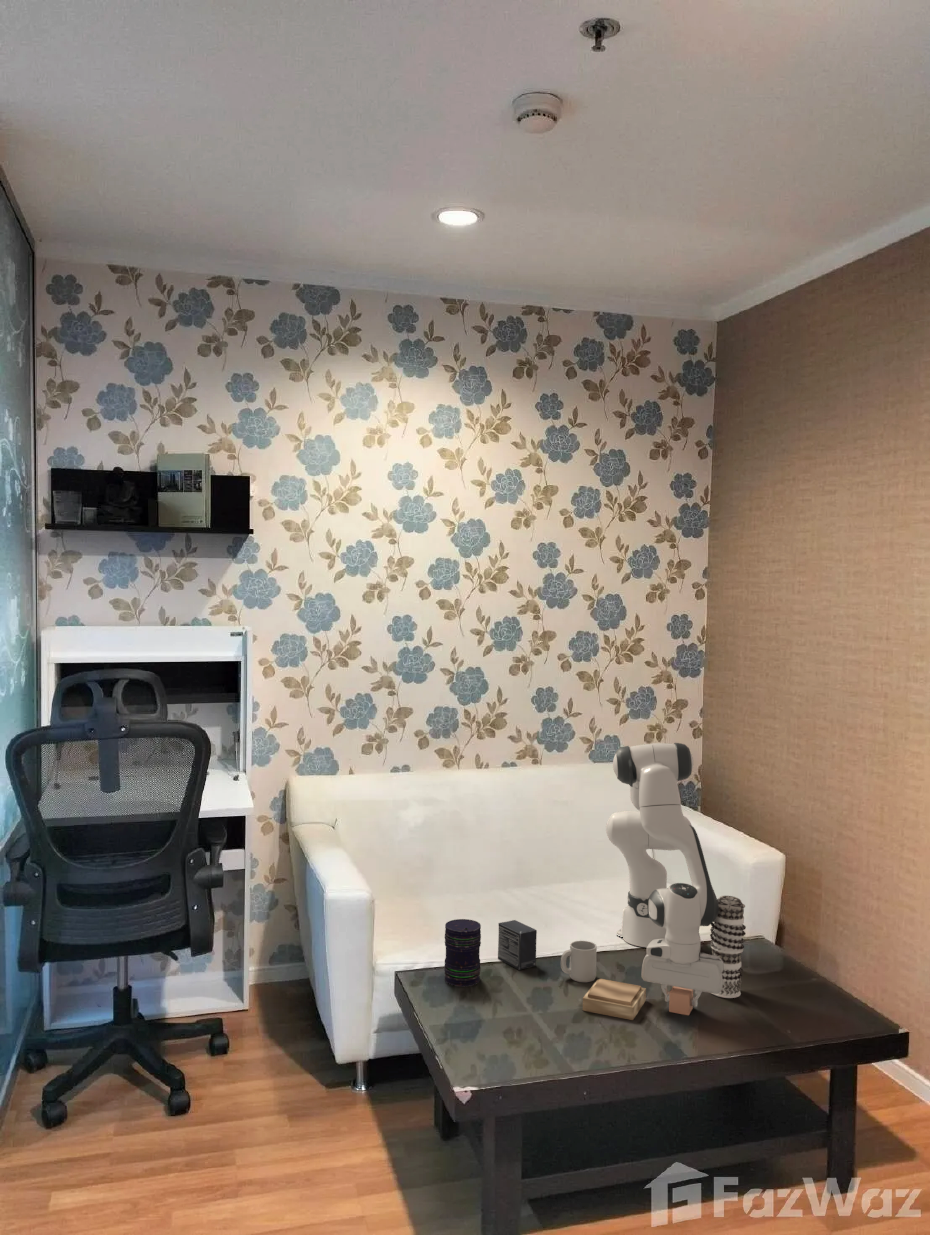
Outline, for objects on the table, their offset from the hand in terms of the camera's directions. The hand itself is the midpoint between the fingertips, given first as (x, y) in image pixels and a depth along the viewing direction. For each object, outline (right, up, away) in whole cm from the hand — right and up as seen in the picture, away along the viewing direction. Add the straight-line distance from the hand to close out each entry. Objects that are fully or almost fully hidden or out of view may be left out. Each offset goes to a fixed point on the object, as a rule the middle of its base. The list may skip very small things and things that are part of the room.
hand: (681, 1003), depth 256 cm
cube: (0, -2, 0) cm, 2 cm away
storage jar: (-56, 0, +17) cm, 58 cm away
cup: (-24, -1, +20) cm, 31 cm away
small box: (-40, 0, +30) cm, 50 cm away
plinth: (-17, -1, +2) cm, 17 cm away
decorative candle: (+14, -1, +11) cm, 18 cm away
